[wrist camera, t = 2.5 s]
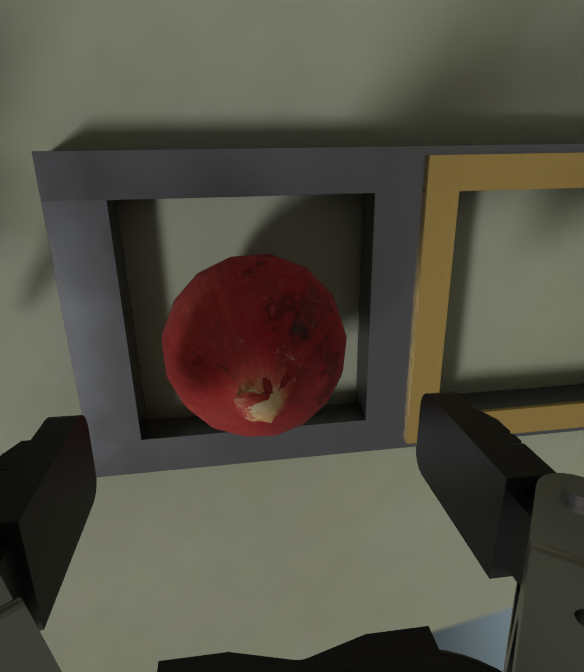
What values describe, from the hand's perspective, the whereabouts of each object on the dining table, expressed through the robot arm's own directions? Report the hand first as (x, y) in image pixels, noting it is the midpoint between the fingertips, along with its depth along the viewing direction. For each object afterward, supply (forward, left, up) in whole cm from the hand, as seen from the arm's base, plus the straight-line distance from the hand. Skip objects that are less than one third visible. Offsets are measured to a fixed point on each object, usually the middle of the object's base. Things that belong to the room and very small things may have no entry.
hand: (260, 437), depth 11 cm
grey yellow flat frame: (-1, +6, -8) cm, 10 cm away
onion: (-1, 0, -9) cm, 9 cm away
